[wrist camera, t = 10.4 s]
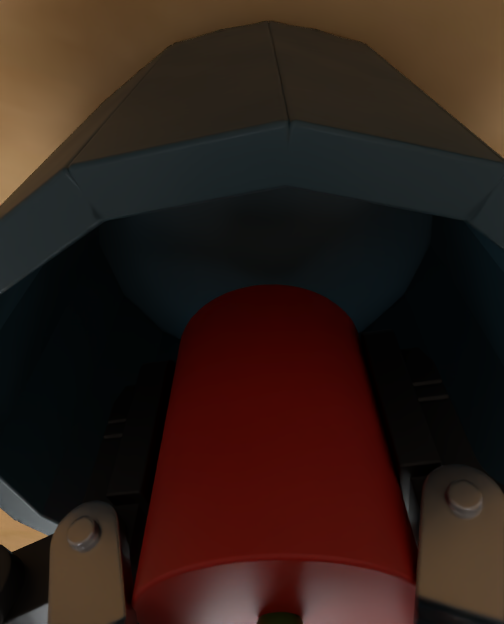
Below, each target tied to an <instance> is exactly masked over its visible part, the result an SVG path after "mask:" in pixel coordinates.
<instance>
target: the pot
mask: <svg viewBox="0 0 504 624" xmlns="http://www.w3.org/2000/svg"><path fill="white" fill-rule="evenodd" d="M264 284H280V285H289V286H295V287H300V288H304V289H307V290H310V291H313V292H316V293H318V294H320V295H322V296H324V297H326V298H328V299H329V300H331V301H332V302H334V303H335V304H337V305H338V306H339V307H340V308H341V309H342V310H344V311H345V312H346V314H347V315H348V316H349V317H350V318H351V320H352V321H353V323H354V325H355V327H356V329H357V332H358V334H359V337H360V341H361V333H364V332H371V331H378V330H385V329H392V330H393V332H394V334H395V337H396V339H397V342H398V345H399V348H400V349H406V348H413V347H419V348H420V349H421V350H422V351H423V352H424V353H425V354H426V355H427V356H429V357H430V358H431V359H432V360H433V361H434V363H435V365H436V367H437V369H438V372H439V374H440V376H441V379H442V383H443V384H444V385H445V388H446V390H447V392H448V395H449V399H451V402H452V404H453V406H454V408H455V411H456V413H457V415H458V418H459V420H460V422H461V424H462V427H463V429H464V431H465V434H466V436H467V438H468V440H469V443H470V445H471V447H472V450H473V452H474V454H475V456H476V458H477V460H478V462H479V463H480V465H481V466H482V468H483V469H484V470H485V471H486V472H487V473H488V474H489V475H490V476H491V477H493V478H494V479H495V480H497V481H498V482H500V483H501V484H503V485H504V158H502V157H501V156H500V155H499V154H498V153H496V152H495V151H494V150H493V149H492V148H490V147H489V146H488V145H487V144H486V143H484V142H483V141H482V140H481V139H480V138H478V137H477V136H476V135H475V134H474V133H472V132H471V131H470V130H469V129H468V128H466V127H465V126H464V125H463V124H462V123H460V122H459V121H458V120H457V119H456V118H454V117H453V116H452V115H451V114H450V113H448V112H447V111H446V110H445V109H444V108H442V107H441V106H440V105H439V104H438V103H436V102H435V101H434V100H433V99H432V98H430V97H429V96H428V95H427V94H425V93H424V92H423V91H422V90H421V89H419V88H418V87H417V86H416V85H415V84H413V83H412V82H411V81H410V80H409V79H407V78H406V77H405V76H404V75H403V74H401V73H400V72H399V71H398V70H397V69H395V68H394V67H393V66H392V65H391V64H389V63H388V62H387V61H386V60H385V59H383V58H382V57H381V56H380V55H379V54H377V53H376V52H375V51H374V50H373V49H371V48H370V47H369V46H368V45H367V44H364V43H363V42H359V41H355V40H351V39H346V38H342V37H338V36H335V35H332V34H329V33H326V32H323V31H320V30H317V29H312V28H305V27H299V26H292V25H287V24H283V23H278V22H274V21H269V22H268V21H264V22H259V23H255V24H251V25H245V26H239V27H232V28H226V29H220V30H217V31H214V32H211V33H208V34H205V35H202V36H199V37H196V38H193V39H189V40H184V41H180V42H176V43H174V44H173V45H170V46H169V47H167V48H166V49H165V50H164V51H163V52H161V53H160V54H159V55H158V56H157V57H156V58H154V59H153V60H152V61H151V62H150V63H149V64H147V65H146V66H145V67H143V68H142V69H141V70H139V71H138V72H137V73H136V74H135V75H134V76H133V77H132V78H131V79H130V80H128V81H127V82H126V83H125V84H124V85H123V86H121V87H120V88H119V89H118V90H117V91H115V92H114V93H113V94H112V95H111V96H110V97H108V98H107V99H106V100H105V101H104V102H103V103H102V104H101V105H100V106H99V107H98V108H97V109H96V110H95V111H94V112H93V113H92V114H91V115H90V116H89V117H88V118H87V119H86V120H85V121H84V122H83V123H82V124H81V125H80V126H79V127H78V128H77V129H76V130H75V131H74V132H73V133H72V134H71V135H70V136H69V137H68V138H67V139H66V140H65V141H64V142H63V143H62V144H61V145H60V146H59V147H58V148H57V149H56V150H55V151H54V152H53V153H52V154H51V155H50V156H49V157H48V158H47V159H46V160H45V161H44V162H43V163H42V164H41V165H40V166H39V167H38V168H37V169H36V170H35V171H34V172H33V173H32V174H31V175H30V176H29V177H28V178H27V179H26V180H25V181H24V182H23V183H22V184H21V185H20V186H19V187H18V188H17V189H16V190H15V191H14V192H13V193H12V194H11V195H10V196H9V197H8V198H7V199H6V200H5V202H4V203H3V204H2V205H1V206H0V508H1V509H2V510H4V511H5V512H6V513H7V514H8V515H9V516H11V517H12V518H13V519H14V520H17V521H18V522H20V523H22V524H24V525H27V526H29V527H31V528H33V529H35V530H37V531H40V532H42V533H44V534H46V535H48V536H50V535H51V534H53V533H54V532H55V530H56V528H57V526H58V524H59V523H60V522H61V520H62V519H63V518H64V517H65V516H66V515H67V514H68V513H69V512H70V511H71V510H72V509H74V508H75V507H77V506H79V505H81V504H82V502H83V499H84V496H85V493H86V490H87V487H88V484H89V480H90V477H91V474H92V471H93V467H94V464H95V461H96V458H97V455H98V451H99V448H100V445H101V442H102V440H103V439H104V438H103V435H104V432H105V429H106V425H108V419H109V416H110V412H111V409H112V406H113V403H114V402H115V400H116V399H117V398H118V396H119V395H120V393H121V392H122V391H123V389H124V388H125V387H126V386H131V385H136V382H137V379H138V375H139V371H140V368H141V366H142V364H144V363H150V362H157V361H164V360H173V361H174V363H175V364H176V361H177V356H178V350H179V345H180V341H181V336H182V334H183V331H184V329H185V327H186V326H187V324H188V322H189V321H190V319H191V318H192V317H193V316H194V315H195V314H196V313H197V312H198V311H199V310H200V309H201V308H202V307H203V306H205V305H206V304H207V303H209V302H210V301H212V300H213V299H215V298H217V297H219V296H221V295H223V294H225V293H227V292H230V291H233V290H236V289H239V288H244V287H249V286H254V285H264ZM411 528H412V526H411ZM412 531H413V530H412ZM413 535H414V534H413ZM414 539H415V537H414ZM415 542H416V541H415ZM416 546H417V545H416Z"/></svg>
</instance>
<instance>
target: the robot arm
mask: <svg viewBox="0 0 504 624" xmlns="http://www.w3.org/2000/svg"><path fill="white" fill-rule="evenodd" d="M361 346H362V350H363V353H364V357H365V361H366V364H367V368H368V372H369V375H370V379H371V383H372V386H373V390H374V394H375V397H376V401H377V405H378V408H379V412H380V416H381V419H382V423H383V427H384V430H385V434H386V438H387V441H388V445H389V449H390V452H391V456H392V460H393V463H394V467H395V471H396V474H397V478H398V482H399V486H400V488H401V491H402V495H403V498H404V502H405V506H406V509H407V513H408V517H409V520H410V524H411V526H412V530H413V534H414V537H415V541H416V545H417V550H418V555H417V573H416V588H415V601H414V616H413V624H504V485H503V484H501V483H500V482H498V481H497V480H495V479H494V478H493V477H491V476H490V475H489V474H488V473H487V472H486V471H485V470H484V469H483V468H482V466H481V465H480V463H479V462H478V460H477V458H476V456H475V454H474V452H473V450H472V447H471V445H470V443H469V440H468V438H467V436H466V434H465V431H464V429H463V427H462V424H461V422H460V420H459V418H458V415H457V413H456V411H455V408H454V406H453V404H452V402H451V399H449V395H448V392H447V390H446V388H445V385H444V384H443V383H442V379H441V376H440V374H439V372H438V369H437V367H436V365H435V363H434V361H433V360H432V359H431V358H430V357H429V356H427V355H426V354H425V353H424V352H423V351H422V350H421V349H420V348H419V347H413V348H406V349H400V348H399V345H398V342H397V339H396V337H395V334H394V332H393V330H392V329H385V330H378V331H371V332H364V333H361ZM175 366H176V364H175V363H174V361H173V360H164V361H157V362H150V363H144V364H142V366H141V368H140V371H139V375H138V379H137V382H136V385H131V386H126V387H125V388H124V389H123V391H122V392H121V393H120V395H119V396H118V398H117V399H116V400H115V402H114V403H113V406H112V409H111V412H110V416H109V419H108V425H106V429H105V432H104V435H103V438H104V439H103V440H102V442H101V445H100V448H99V451H98V455H97V458H96V461H95V464H94V467H93V471H92V474H91V477H90V480H89V484H88V487H87V490H86V493H85V496H84V499H83V502H82V504H81V505H79V506H77V507H75V508H74V509H72V510H71V511H70V512H69V513H68V514H67V515H66V516H65V517H64V518H63V519H62V520H61V522H60V523H59V524H58V526H57V528H56V530H55V532H54V533H53V534H51V535H50V536H48V537H45V538H43V539H41V540H39V541H36V542H34V543H32V544H29V545H27V546H25V547H23V548H20V549H18V550H16V551H13V552H11V551H9V550H8V549H7V548H5V547H4V546H3V545H0V624H139V623H138V622H137V615H136V611H135V610H134V609H133V607H132V604H131V601H132V595H133V590H134V585H135V579H136V574H137V569H138V563H139V558H140V553H141V547H142V542H143V537H144V531H145V526H146V521H147V515H148V510H149V505H150V499H151V494H152V489H153V484H154V478H155V473H156V468H157V462H158V457H159V452H160V446H161V441H162V436H163V430H164V425H165V420H166V414H167V409H168V404H169V398H170V393H171V388H172V382H173V377H174V372H175Z"/></svg>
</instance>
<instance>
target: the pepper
mask: <svg viewBox="0 0 504 624" xmlns="http://www.w3.org/2000/svg"><path fill="white" fill-rule="evenodd" d="M417 555H418V550H417V546H416V542H415V539H414V535H413V531H412V528H411V524H410V520H409V517H408V513H407V509H406V506H405V502H404V498H403V495H402V491H401V488H400V486H399V482H398V478H397V474H396V471H395V467H394V463H393V460H392V456H391V452H390V449H389V445H388V441H387V438H386V434H385V430H384V427H383V423H382V419H381V416H380V412H379V408H378V405H377V401H376V397H375V394H374V390H373V386H372V383H371V379H370V375H369V372H368V368H367V364H366V361H365V357H364V353H363V350H362V346H361V341H360V337H359V334H358V332H357V329H356V327H355V325H354V323H353V321H352V320H351V318H350V317H349V316H348V315H347V314H346V312H345V311H344V310H342V309H341V308H340V307H339V306H338V305H337V304H335V303H334V302H332V301H331V300H329V299H328V298H326V297H324V296H322V295H320V294H318V293H316V292H313V291H310V290H307V289H304V288H300V287H295V286H289V285H280V284H264V285H254V286H249V287H244V288H239V289H236V290H233V291H230V292H227V293H225V294H223V295H221V296H219V297H217V298H215V299H213V300H212V301H210V302H209V303H207V304H206V305H205V306H203V307H202V308H201V309H200V310H199V311H198V312H197V313H196V314H195V315H194V316H193V317H192V318H191V319H190V321H189V322H188V324H187V326H186V327H185V329H184V331H183V334H182V336H181V341H180V345H179V350H178V356H177V361H176V366H175V372H174V377H173V382H172V388H171V393H170V398H169V404H168V409H167V414H166V420H165V425H164V430H163V436H162V441H161V446H160V452H159V457H158V462H157V468H156V473H155V478H154V484H153V489H152V494H151V499H150V505H149V510H148V515H147V521H146V526H145V531H144V537H143V542H142V547H141V553H140V558H139V563H138V569H137V574H136V579H135V585H134V590H133V595H132V601H131V604H132V607H133V609H134V610H135V611H136V615H137V622H138V623H139V624H413V616H414V601H415V588H416V573H417Z"/></svg>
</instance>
